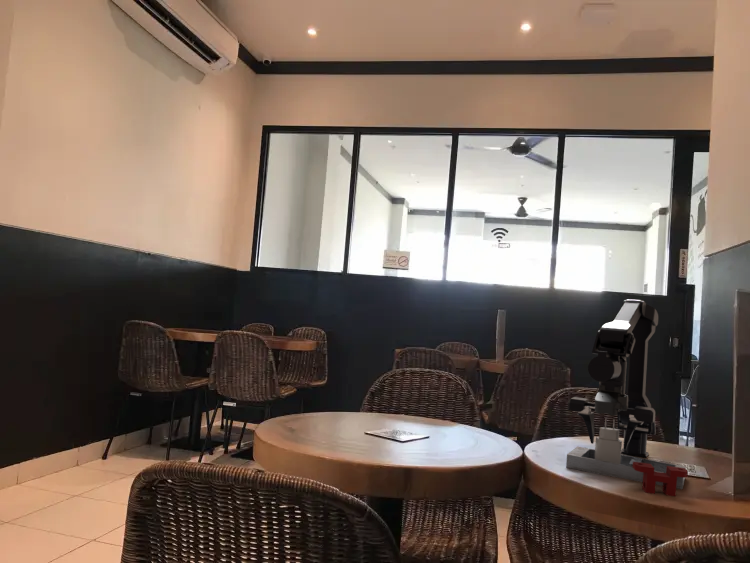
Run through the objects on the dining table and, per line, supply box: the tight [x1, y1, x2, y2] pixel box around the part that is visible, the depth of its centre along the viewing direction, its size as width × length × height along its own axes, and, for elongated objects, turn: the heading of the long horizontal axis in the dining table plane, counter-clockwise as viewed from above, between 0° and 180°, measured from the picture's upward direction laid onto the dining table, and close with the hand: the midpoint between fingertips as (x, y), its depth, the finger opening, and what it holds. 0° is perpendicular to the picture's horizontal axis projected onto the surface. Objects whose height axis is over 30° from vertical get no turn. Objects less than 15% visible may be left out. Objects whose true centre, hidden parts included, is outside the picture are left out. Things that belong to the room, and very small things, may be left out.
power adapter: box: [594, 417, 623, 464], centre depth 136 cm, size 3×5×12 cm, turn 81°
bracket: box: [633, 462, 689, 497], centre depth 118 cm, size 3×6×10 cm
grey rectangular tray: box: [565, 445, 687, 490], centre depth 134 cm, size 12×24×3 cm, turn 59°
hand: (608, 446), depth 136 cm, fingers open, 7 cm apart
